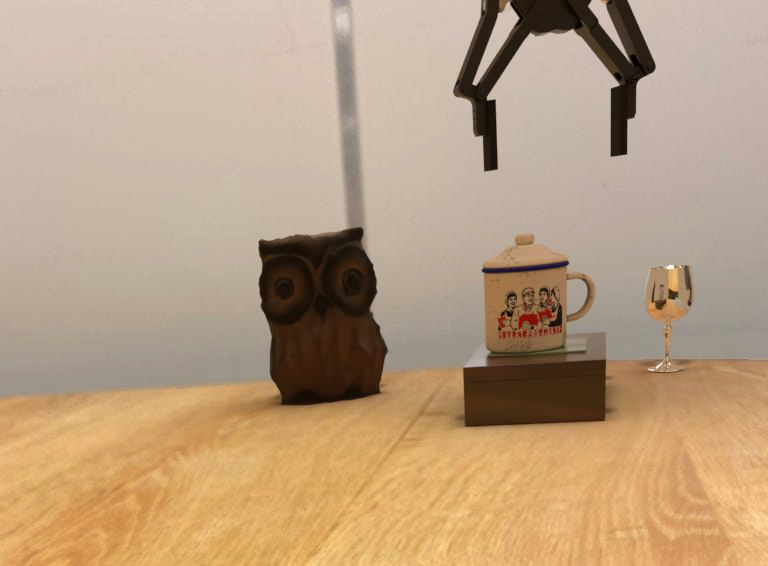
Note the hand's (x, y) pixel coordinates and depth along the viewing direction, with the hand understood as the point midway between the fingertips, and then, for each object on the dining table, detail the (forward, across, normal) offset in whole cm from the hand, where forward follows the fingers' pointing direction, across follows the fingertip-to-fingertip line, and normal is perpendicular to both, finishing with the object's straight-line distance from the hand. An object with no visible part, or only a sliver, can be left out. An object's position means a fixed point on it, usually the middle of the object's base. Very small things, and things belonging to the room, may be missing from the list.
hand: (555, 163), depth 111 cm
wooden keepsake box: (+24, -3, -1) cm, 25 cm away
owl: (+24, -23, +21) cm, 40 cm away
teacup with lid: (+18, -2, -1) cm, 19 cm away
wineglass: (+25, +18, +12) cm, 33 cm away
